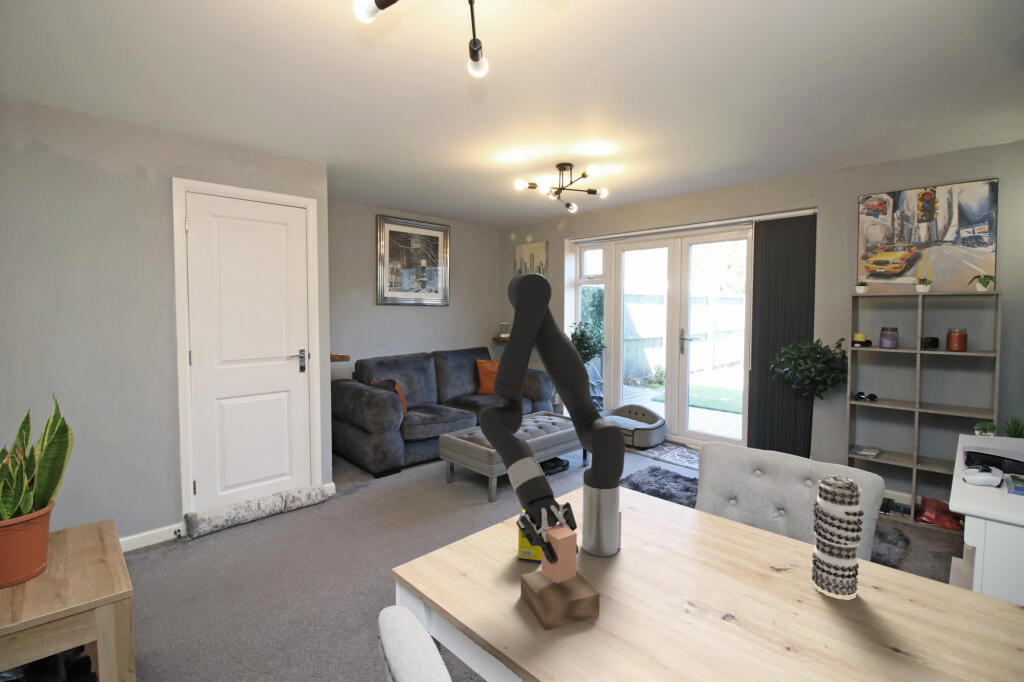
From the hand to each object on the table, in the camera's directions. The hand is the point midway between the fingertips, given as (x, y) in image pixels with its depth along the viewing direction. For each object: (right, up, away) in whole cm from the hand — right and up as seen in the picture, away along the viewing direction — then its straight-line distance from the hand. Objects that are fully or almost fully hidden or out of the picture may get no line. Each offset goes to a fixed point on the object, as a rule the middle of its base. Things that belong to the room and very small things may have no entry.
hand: (565, 558), depth 97 cm
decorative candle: (+61, -11, +9) cm, 62 cm away
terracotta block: (-1, -4, +2) cm, 5 cm away
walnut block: (-1, -11, +2) cm, 12 cm away
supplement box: (-6, -10, +22) cm, 25 cm away
